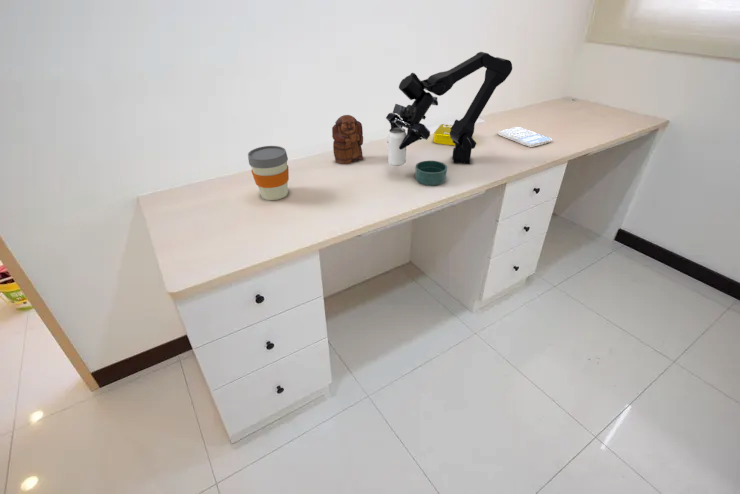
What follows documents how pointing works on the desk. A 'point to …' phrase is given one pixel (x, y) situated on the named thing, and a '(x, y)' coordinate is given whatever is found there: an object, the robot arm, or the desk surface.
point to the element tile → (443, 135)
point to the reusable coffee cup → (270, 171)
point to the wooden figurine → (347, 140)
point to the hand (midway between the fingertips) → (394, 146)
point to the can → (396, 147)
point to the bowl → (430, 173)
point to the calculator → (524, 136)
